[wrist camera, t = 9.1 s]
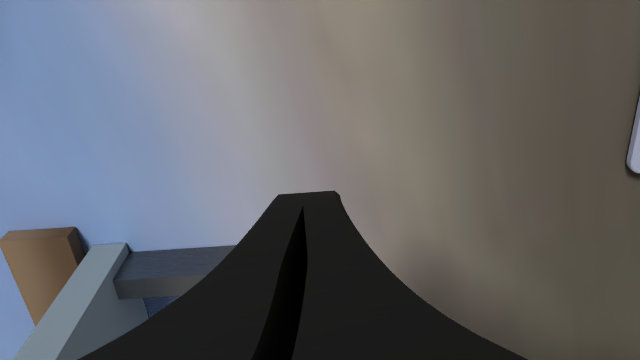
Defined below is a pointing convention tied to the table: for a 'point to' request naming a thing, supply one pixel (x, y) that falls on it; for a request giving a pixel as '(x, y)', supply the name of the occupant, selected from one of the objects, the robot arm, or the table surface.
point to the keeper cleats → (166, 271)
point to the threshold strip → (42, 264)
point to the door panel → (85, 310)
